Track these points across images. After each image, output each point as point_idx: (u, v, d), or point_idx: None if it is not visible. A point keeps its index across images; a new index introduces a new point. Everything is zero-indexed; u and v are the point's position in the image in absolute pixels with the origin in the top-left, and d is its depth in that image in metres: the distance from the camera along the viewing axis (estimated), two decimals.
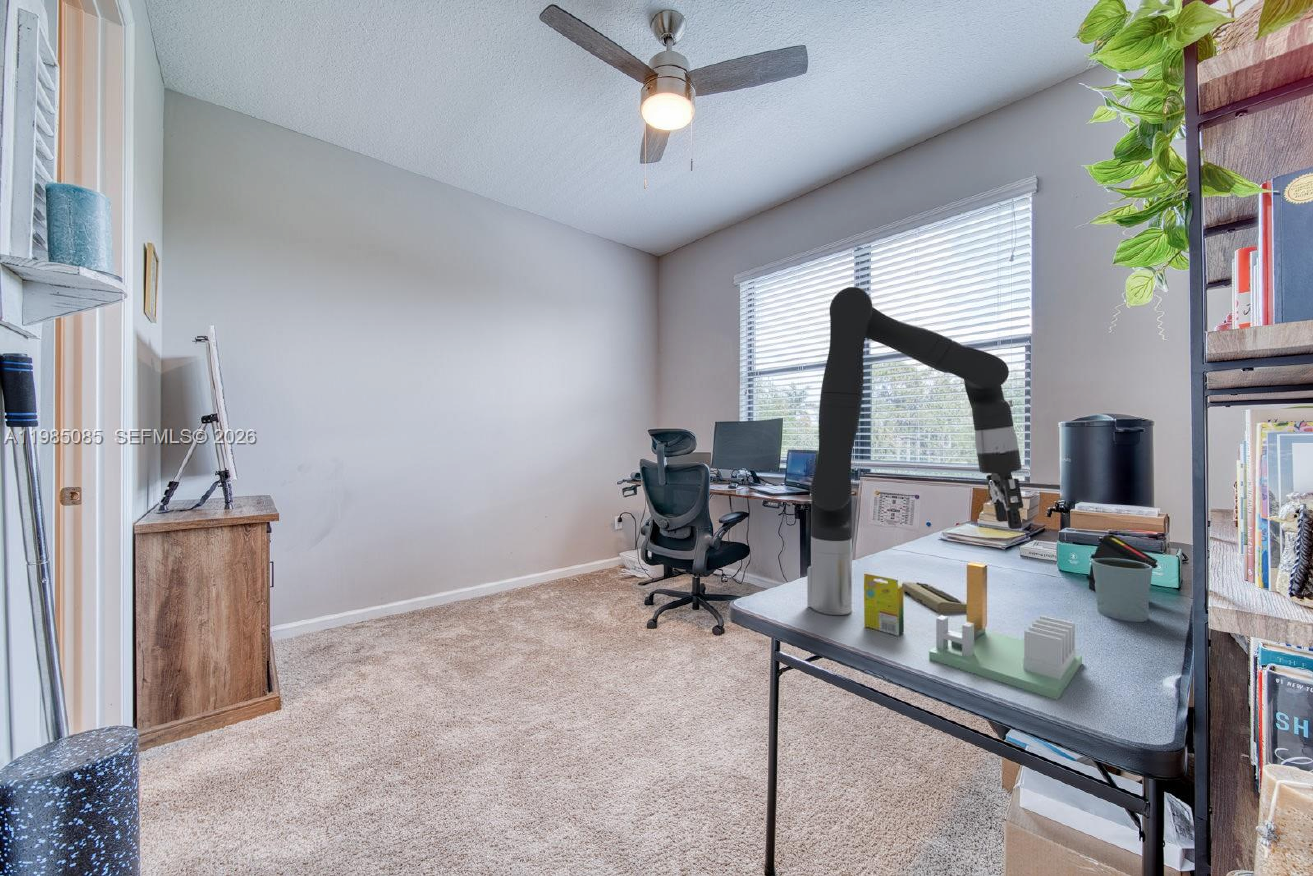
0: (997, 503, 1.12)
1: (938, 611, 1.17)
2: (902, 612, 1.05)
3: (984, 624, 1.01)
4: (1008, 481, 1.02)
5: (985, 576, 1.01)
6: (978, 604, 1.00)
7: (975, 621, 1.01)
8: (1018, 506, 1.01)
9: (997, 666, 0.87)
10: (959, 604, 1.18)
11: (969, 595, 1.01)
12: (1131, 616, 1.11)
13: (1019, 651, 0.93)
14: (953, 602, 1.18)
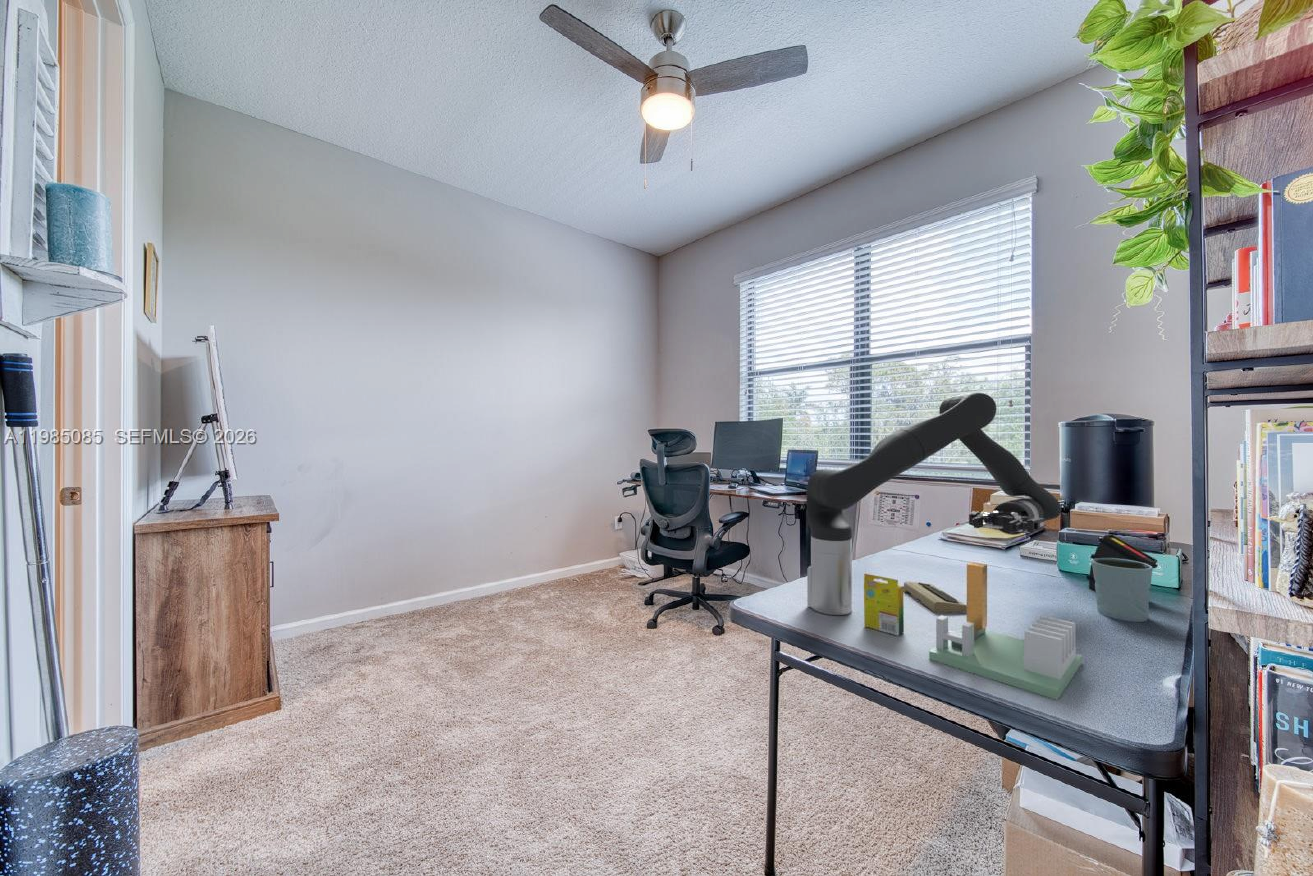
0: (982, 518, 1.13)
1: (934, 611, 1.18)
2: (902, 612, 1.05)
3: (984, 624, 1.01)
4: (1043, 521, 1.09)
5: (985, 576, 1.01)
6: (978, 604, 1.00)
7: (975, 621, 1.01)
8: (1033, 528, 1.07)
9: (997, 666, 0.87)
10: (956, 604, 1.17)
11: (969, 595, 1.01)
12: (1131, 616, 1.11)
13: (1019, 651, 0.93)
14: (950, 602, 1.18)
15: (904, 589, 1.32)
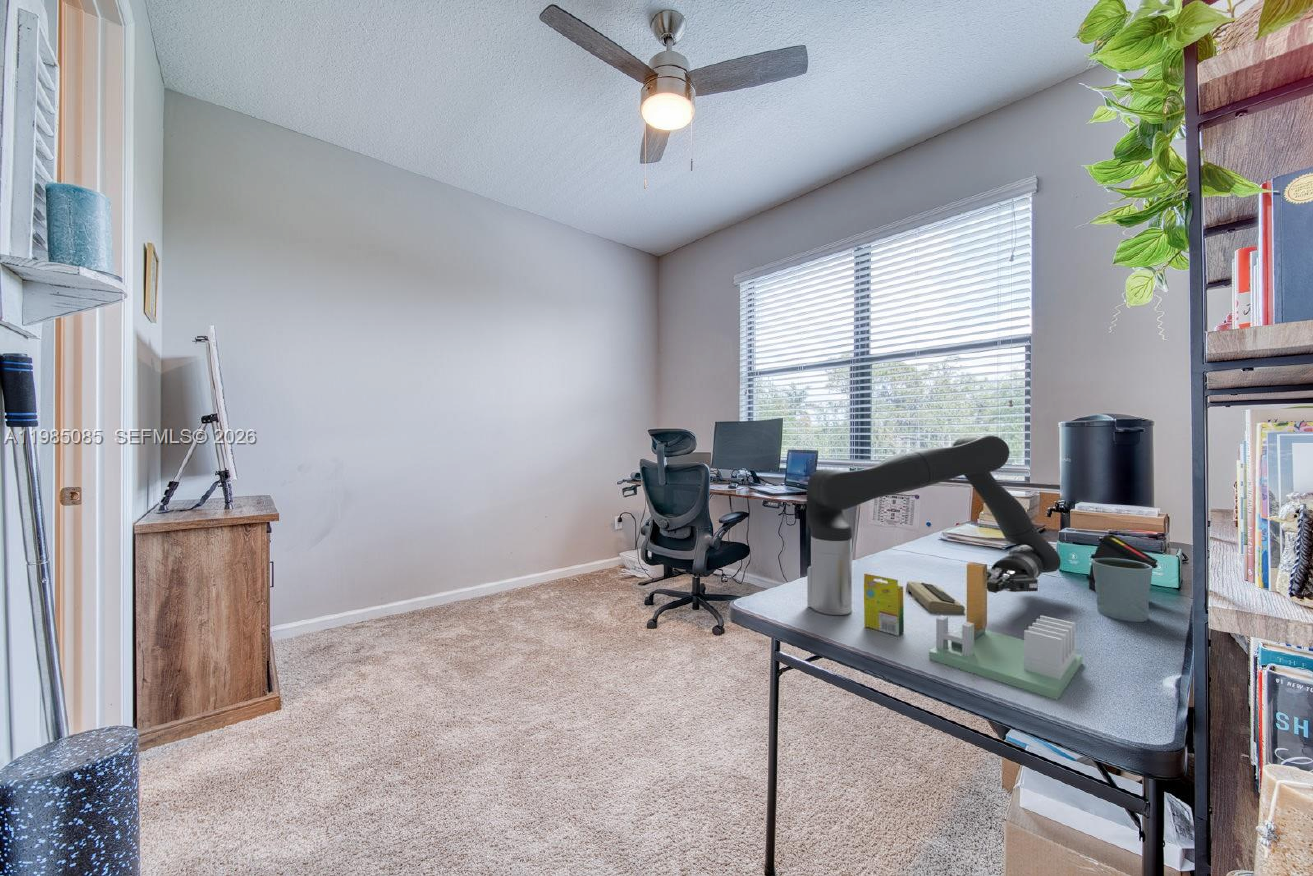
0: None
1: (929, 610, 1.18)
2: (902, 612, 1.05)
3: (984, 624, 1.01)
4: (1037, 583, 1.09)
5: (985, 576, 1.01)
6: (978, 604, 1.00)
7: (975, 621, 1.01)
8: (1015, 588, 1.08)
9: (997, 666, 0.87)
10: (952, 604, 1.17)
11: (969, 595, 1.01)
12: (1131, 616, 1.11)
13: (1019, 651, 0.93)
14: (946, 602, 1.18)
15: (906, 589, 1.33)
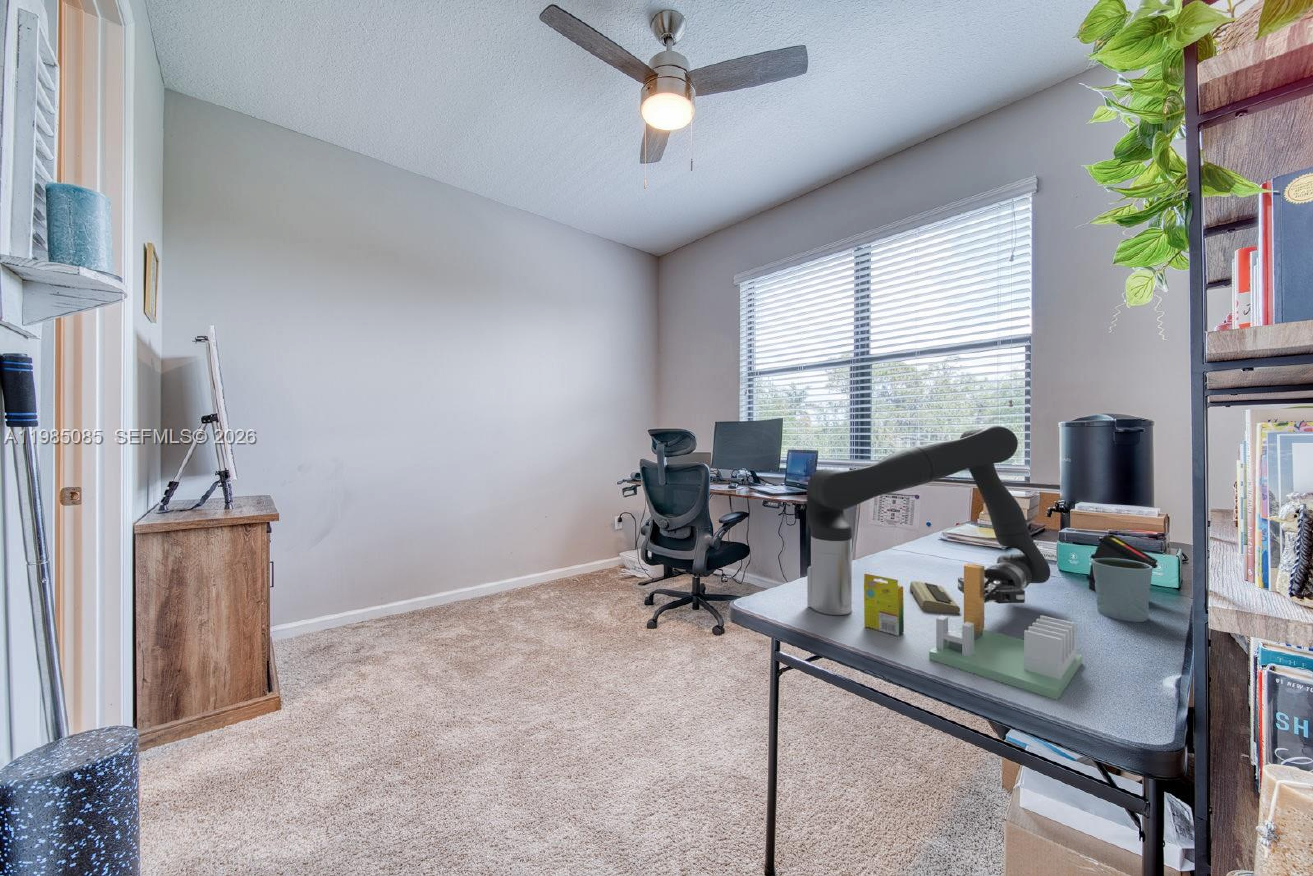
0: None
1: (923, 609, 1.19)
2: (902, 612, 1.05)
3: (981, 626, 0.99)
4: (1024, 594, 1.03)
5: (983, 578, 1.00)
6: (975, 606, 0.99)
7: None
8: (1001, 599, 1.02)
9: (997, 666, 0.87)
10: (947, 604, 1.17)
11: (966, 597, 1.00)
12: (1131, 616, 1.11)
13: (1019, 651, 0.93)
14: (941, 602, 1.18)
15: (910, 588, 1.33)
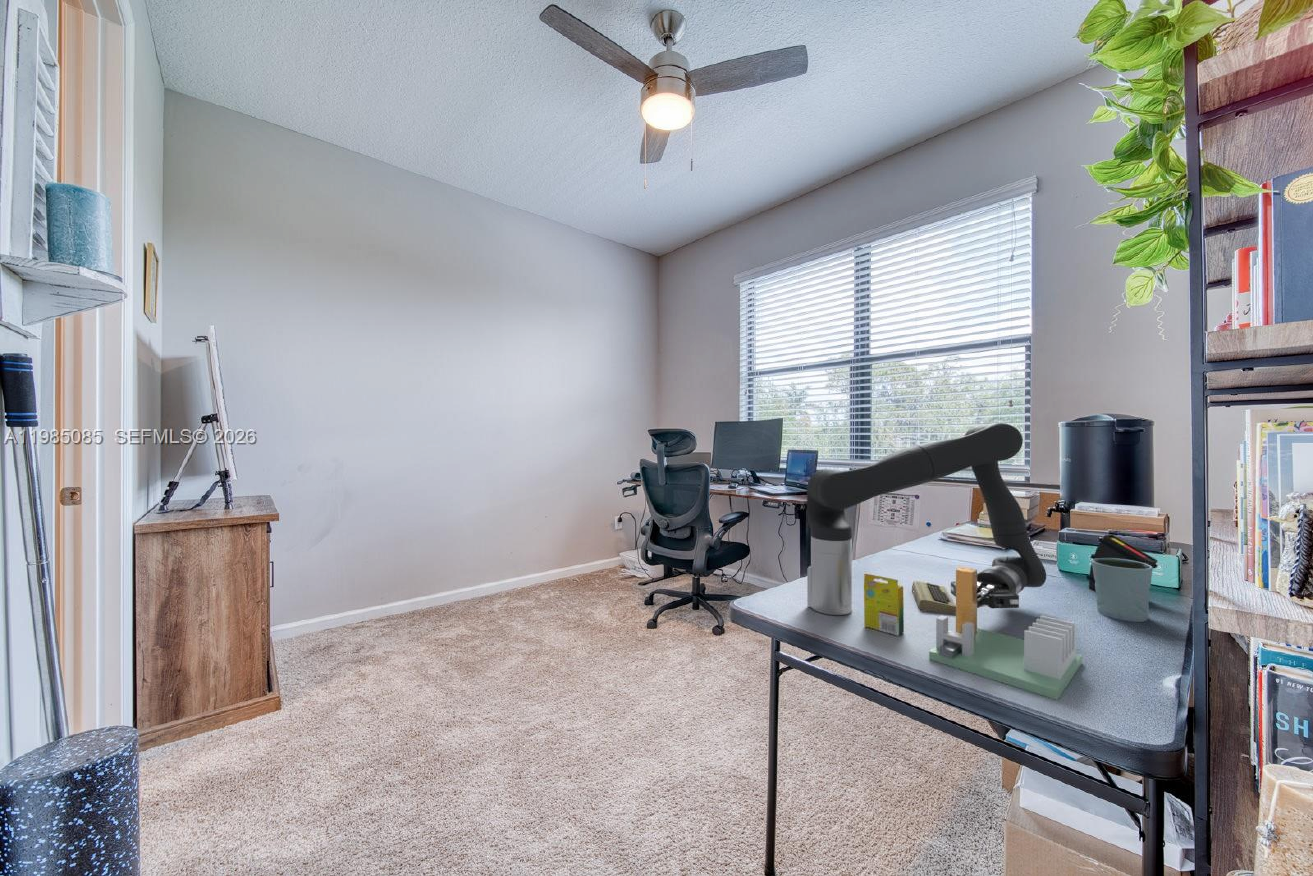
0: None
1: (920, 608, 1.19)
2: (902, 612, 1.05)
3: (974, 632, 0.97)
4: (1018, 599, 1.00)
5: (975, 582, 0.97)
6: (967, 611, 0.96)
7: None
8: (994, 604, 1.00)
9: (997, 666, 0.87)
10: (944, 604, 1.17)
11: (958, 602, 0.98)
12: (1131, 616, 1.11)
13: (1019, 651, 0.93)
14: (938, 602, 1.18)
15: (912, 588, 1.33)
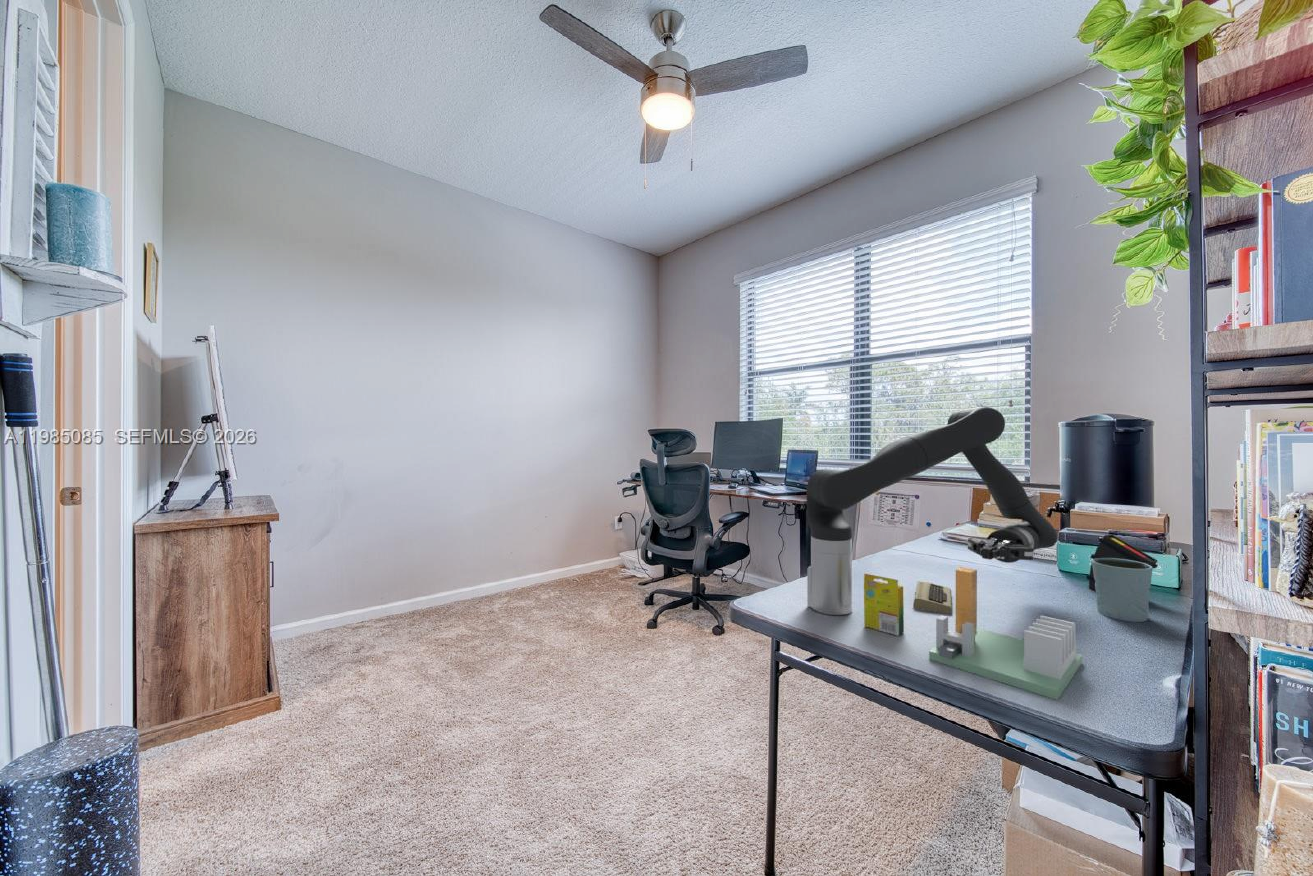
0: None
1: (914, 607, 1.20)
2: (902, 612, 1.05)
3: (974, 632, 0.97)
4: (1032, 551, 1.07)
5: (975, 582, 0.97)
6: (967, 612, 0.96)
7: None
8: (1010, 555, 1.06)
9: (997, 666, 0.87)
10: (938, 604, 1.18)
11: (958, 602, 0.97)
12: (1131, 616, 1.11)
13: (1019, 651, 0.93)
14: (932, 601, 1.19)
15: None
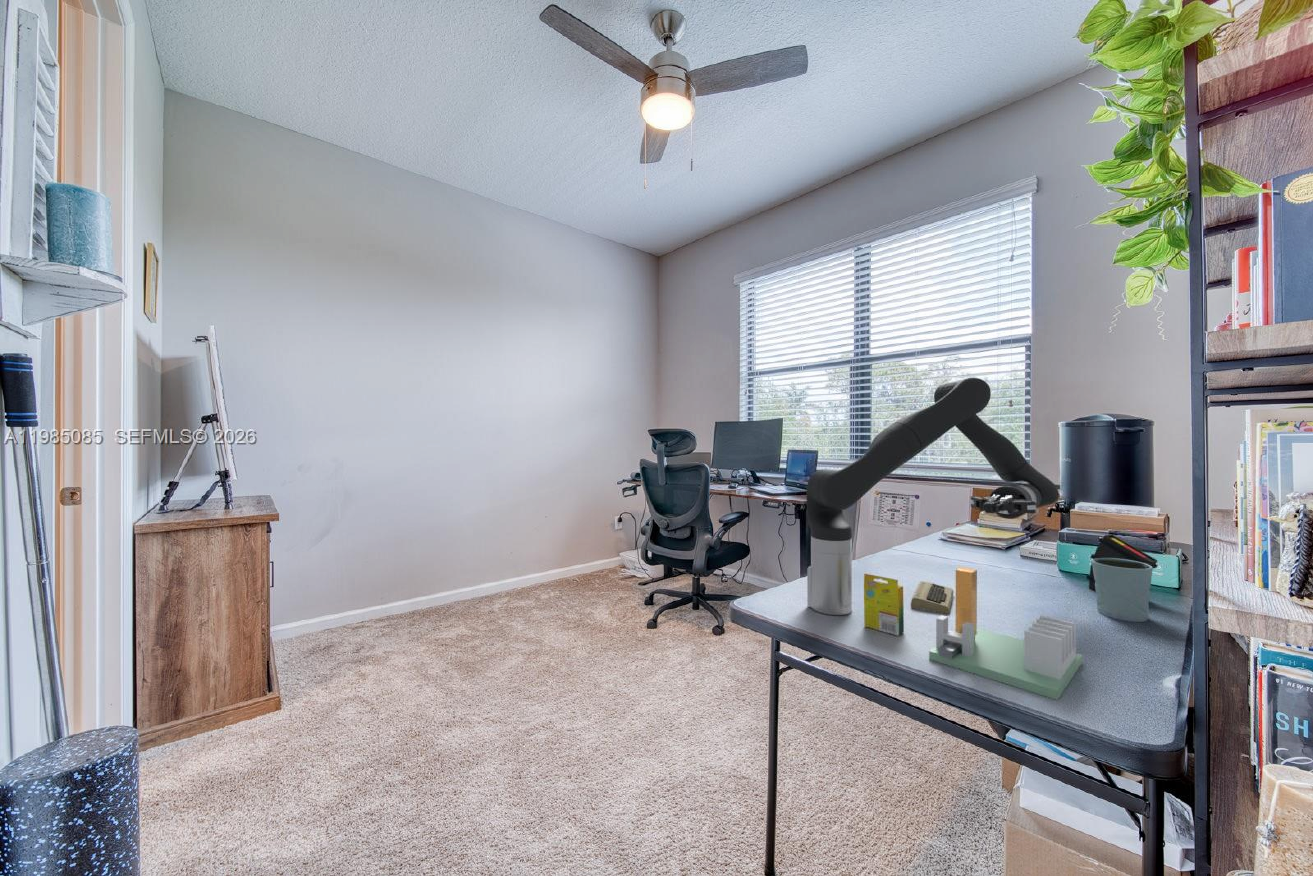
0: None
1: (911, 606, 1.21)
2: (902, 612, 1.05)
3: (974, 632, 0.97)
4: (1035, 504, 1.07)
5: (975, 582, 0.97)
6: (967, 612, 0.96)
7: None
8: (1013, 509, 1.07)
9: (997, 666, 0.87)
10: (936, 604, 1.18)
11: (958, 602, 0.97)
12: (1131, 616, 1.11)
13: (1019, 651, 0.93)
14: (930, 601, 1.19)
15: None
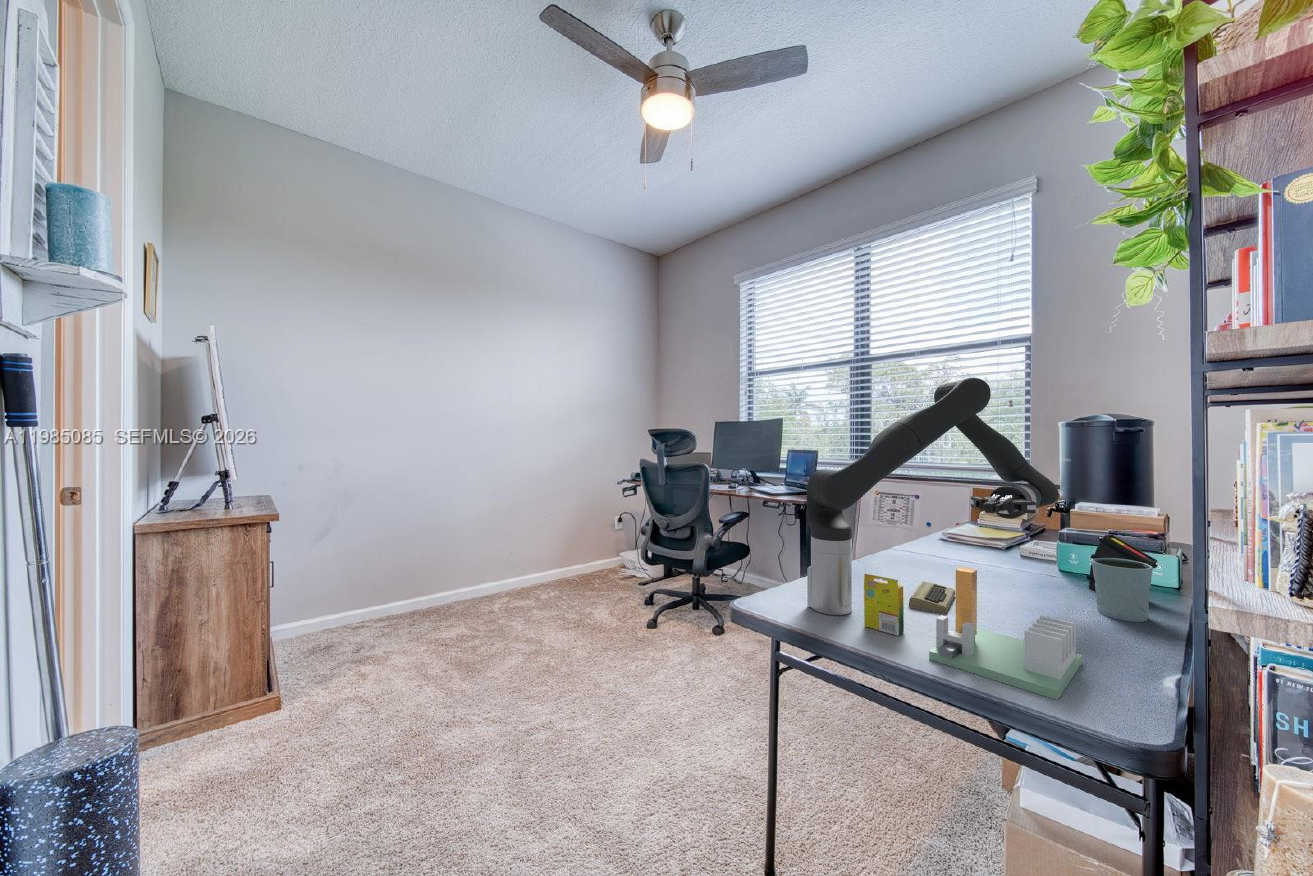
0: None
1: (909, 605, 1.21)
2: (902, 612, 1.05)
3: (974, 632, 0.97)
4: (1035, 504, 1.07)
5: (975, 582, 0.97)
6: (967, 612, 0.96)
7: None
8: (1013, 509, 1.07)
9: (997, 666, 0.87)
10: (933, 603, 1.18)
11: (958, 602, 0.97)
12: (1131, 616, 1.11)
13: (1019, 651, 0.93)
14: (928, 600, 1.19)
15: None
